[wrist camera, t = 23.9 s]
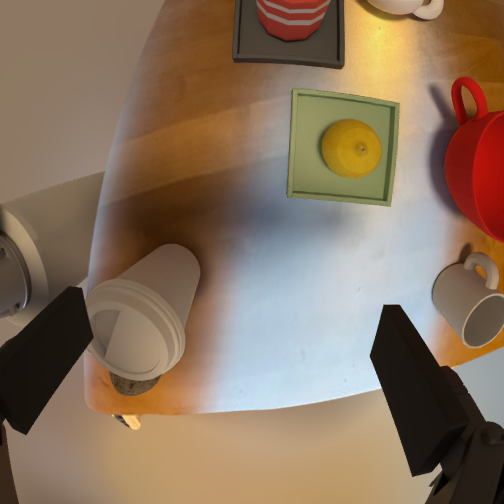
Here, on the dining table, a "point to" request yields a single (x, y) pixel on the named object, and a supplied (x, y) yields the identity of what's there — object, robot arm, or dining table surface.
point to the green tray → (310, 143)
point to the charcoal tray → (289, 52)
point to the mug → (410, 7)
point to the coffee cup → (144, 314)
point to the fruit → (351, 148)
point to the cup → (471, 300)
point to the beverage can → (291, 17)
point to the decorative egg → (132, 385)
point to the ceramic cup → (477, 162)
